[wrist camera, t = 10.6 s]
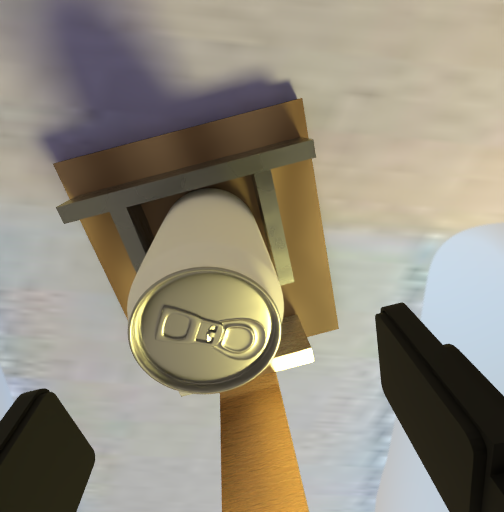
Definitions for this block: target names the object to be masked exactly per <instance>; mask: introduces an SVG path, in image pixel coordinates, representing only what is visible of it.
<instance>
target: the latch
mask: <svg viewBox="0 0 504 512" xmlns="http://www.w3.org/2000/svg"><path fill="white" fill-rule="evenodd" d="M281 326H282V333H281V340H280V344H279V347H278V350H277V352H276V354H275V356H274V358H273V360H272V361H271V362H270V364H269V365H268V366H267V367H266V369H265V370H264V371H263V372H262V373H260V374H259V375H258V376H257V377H256V378H254V379H253V380H251V381H250V382H248V383H246V384H244V385H242V386H240V387H238V388H235V389H232V390H229V391H225V392H221V393H220V419H221V479H222V512H309V509H308V505H307V500H306V496H305V492H304V488H303V484H302V480H301V475H300V471H299V467H298V463H297V459H296V454H295V450H294V446H293V442H292V438H291V433H290V429H289V425H288V421H287V417H286V412H285V408H284V404H283V400H282V396H281V391H280V387H279V383H278V379H277V375H276V371H280V370H284V369H288V368H292V367H295V366H299V365H303V364H307V363H310V362H314V358H313V354H312V349H311V346H310V344H309V341H308V339H307V337H306V334H305V332H304V329H303V327H302V325H301V322H300V320H299V317H298V315H297V314H296V315H293V316H289V317H285V318H283V320H282V324H281ZM179 393H180V395H181V397H182V396H186V395H189V394H192V393H186V392H181V391H179Z"/></svg>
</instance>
